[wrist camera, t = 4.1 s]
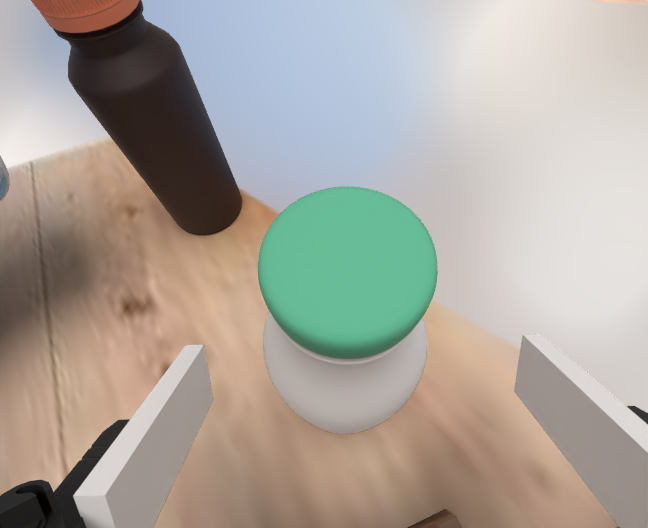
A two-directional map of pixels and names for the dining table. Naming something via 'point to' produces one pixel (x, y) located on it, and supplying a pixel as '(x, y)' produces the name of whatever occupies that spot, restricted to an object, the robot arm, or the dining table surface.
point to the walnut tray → (439, 521)
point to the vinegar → (148, 106)
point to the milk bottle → (346, 306)
